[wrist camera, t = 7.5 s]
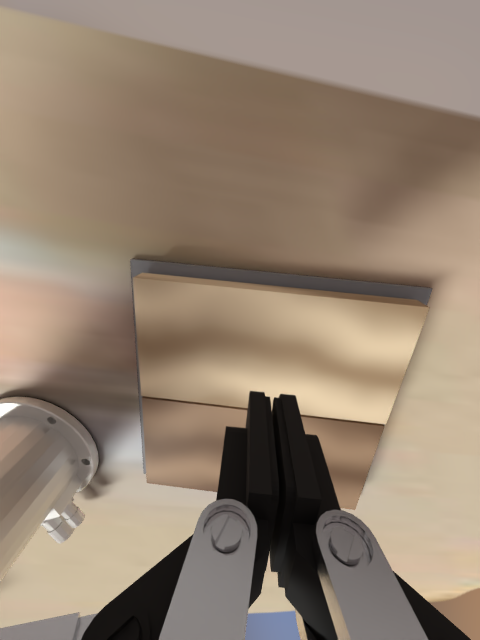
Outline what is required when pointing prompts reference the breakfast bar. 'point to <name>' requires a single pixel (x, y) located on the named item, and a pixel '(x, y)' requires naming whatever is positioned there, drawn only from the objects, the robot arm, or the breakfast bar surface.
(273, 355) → the ash plank
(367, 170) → the breakfast bar surface
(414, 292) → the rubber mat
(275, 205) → the breakfast bar surface
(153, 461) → the walnut board
